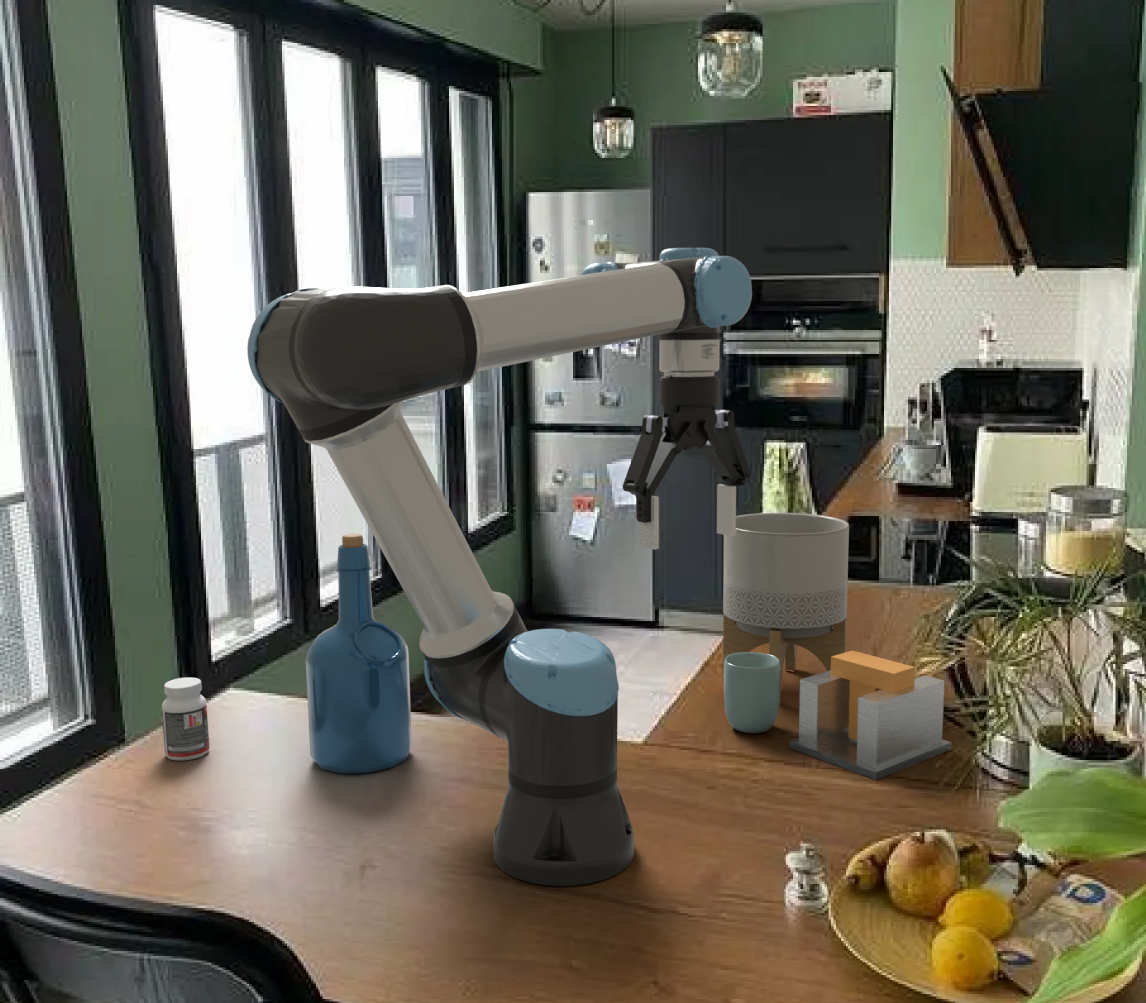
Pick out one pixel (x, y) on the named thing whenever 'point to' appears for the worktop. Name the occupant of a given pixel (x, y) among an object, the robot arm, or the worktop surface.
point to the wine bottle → (358, 679)
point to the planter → (786, 586)
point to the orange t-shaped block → (869, 678)
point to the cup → (751, 691)
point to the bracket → (871, 725)
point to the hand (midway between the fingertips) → (688, 541)
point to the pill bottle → (185, 720)
